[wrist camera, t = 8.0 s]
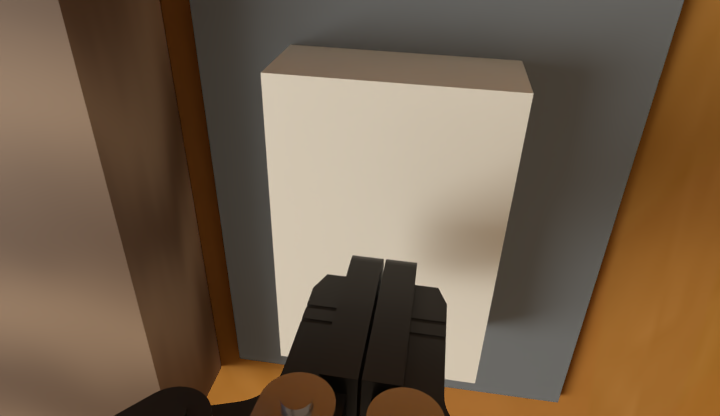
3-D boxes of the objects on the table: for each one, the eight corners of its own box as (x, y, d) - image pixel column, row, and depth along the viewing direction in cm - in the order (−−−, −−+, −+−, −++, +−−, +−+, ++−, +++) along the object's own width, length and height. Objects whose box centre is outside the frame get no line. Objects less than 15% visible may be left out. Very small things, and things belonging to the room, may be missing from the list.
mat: (177, -124, 13) (171, -124, 13) (713, -114, 11) (719, -114, 11) (242, 352, 21) (239, 358, 21) (556, 395, 20) (557, 402, 19)
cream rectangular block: (533, 93, 11) (522, 60, 13) (260, 72, 12) (290, 44, 14) (475, 383, 16) (473, 325, 18) (280, 355, 17) (301, 302, 19)
